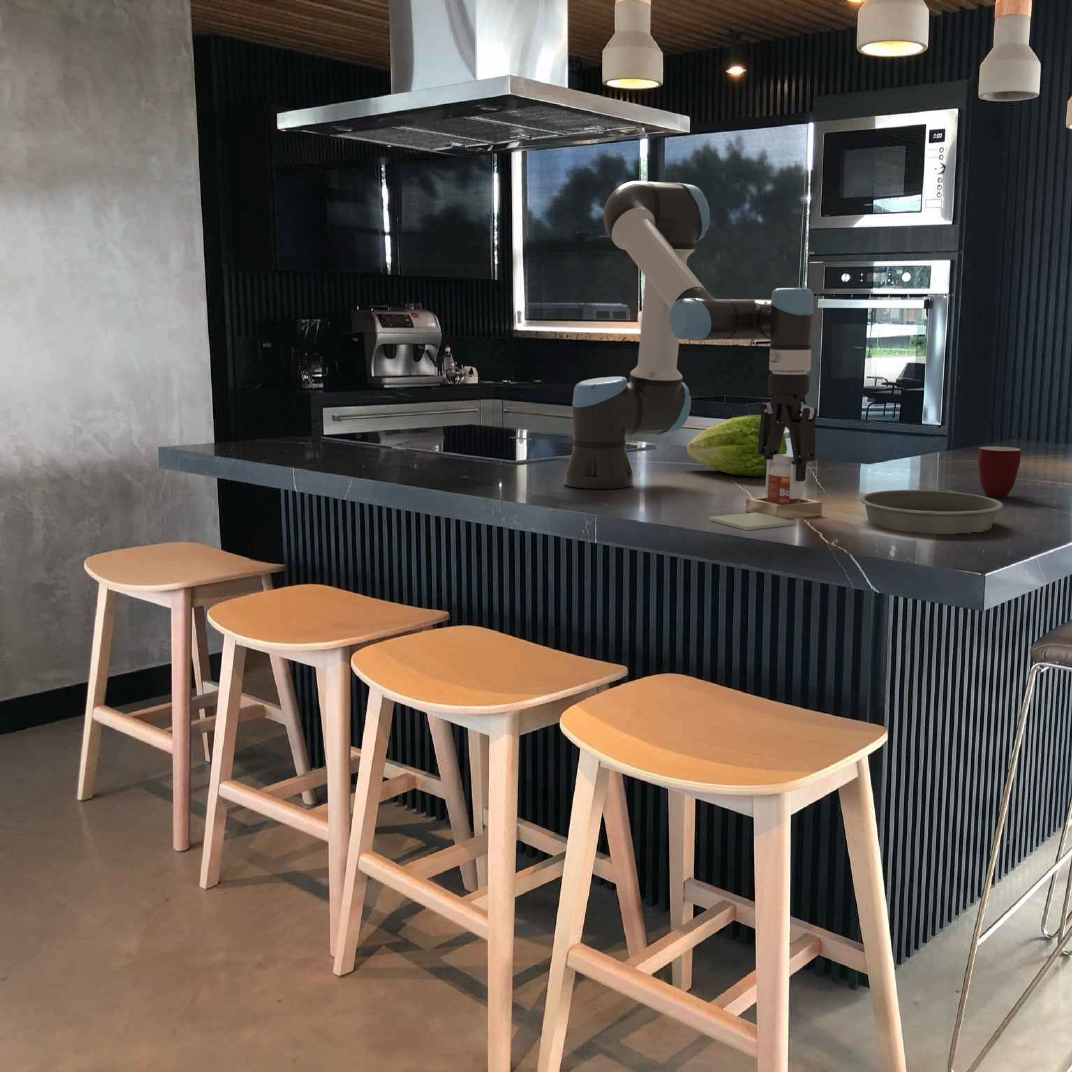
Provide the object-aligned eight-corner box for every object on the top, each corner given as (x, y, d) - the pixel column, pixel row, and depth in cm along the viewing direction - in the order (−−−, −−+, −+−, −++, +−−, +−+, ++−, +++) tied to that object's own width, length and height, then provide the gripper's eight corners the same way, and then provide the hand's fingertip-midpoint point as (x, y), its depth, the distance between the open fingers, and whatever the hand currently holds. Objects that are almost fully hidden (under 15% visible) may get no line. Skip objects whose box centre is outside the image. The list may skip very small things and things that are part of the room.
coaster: (708, 520, 211) (709, 517, 211) (756, 515, 216) (756, 512, 216) (746, 530, 202) (746, 526, 202) (795, 524, 207) (795, 521, 207)
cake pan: (834, 515, 218) (835, 491, 217) (950, 510, 224) (951, 487, 223) (903, 540, 195) (905, 513, 194) (1030, 533, 200) (1033, 508, 199)
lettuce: (713, 468, 287) (704, 412, 284) (801, 465, 271) (792, 405, 268) (676, 486, 275) (666, 428, 272) (765, 484, 259) (756, 422, 256)
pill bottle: (779, 517, 215) (781, 458, 212) (760, 511, 220) (762, 454, 218) (806, 514, 217) (809, 456, 215) (787, 509, 223) (789, 452, 220)
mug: (989, 491, 246) (992, 444, 245) (1027, 495, 241) (1031, 447, 239) (969, 496, 239) (972, 448, 237) (1008, 500, 233) (1012, 452, 232)
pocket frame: (745, 511, 221) (746, 498, 220) (786, 507, 225) (787, 494, 225) (779, 519, 212) (780, 506, 211) (821, 515, 217) (822, 502, 216)
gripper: (741, 370, 220) (736, 490, 224) (808, 375, 203) (802, 504, 208) (771, 370, 224) (767, 487, 228) (840, 374, 207) (834, 501, 211)
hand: (784, 495), depth 218 cm, fingers closed on pill bottle, 6 cm apart
